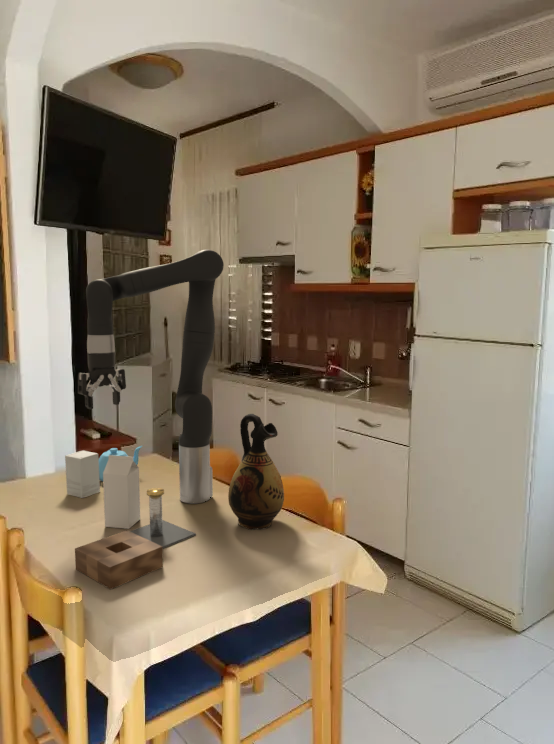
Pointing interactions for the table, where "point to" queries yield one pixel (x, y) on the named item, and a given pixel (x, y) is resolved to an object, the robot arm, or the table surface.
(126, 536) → the walnut block
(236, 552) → the table surface
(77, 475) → the supplement box
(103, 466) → the teapot
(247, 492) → the ceramic jug
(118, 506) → the milk carton
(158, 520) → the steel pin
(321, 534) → the table surface
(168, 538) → the rubber mat
